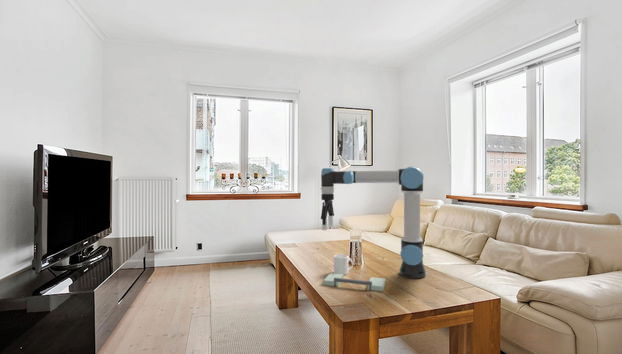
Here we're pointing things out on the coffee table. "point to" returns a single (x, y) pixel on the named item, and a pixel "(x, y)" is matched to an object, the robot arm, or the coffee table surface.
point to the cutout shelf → (375, 281)
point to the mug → (341, 264)
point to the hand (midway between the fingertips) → (327, 228)
